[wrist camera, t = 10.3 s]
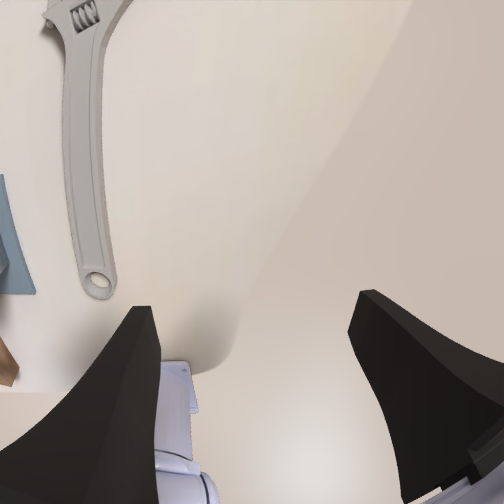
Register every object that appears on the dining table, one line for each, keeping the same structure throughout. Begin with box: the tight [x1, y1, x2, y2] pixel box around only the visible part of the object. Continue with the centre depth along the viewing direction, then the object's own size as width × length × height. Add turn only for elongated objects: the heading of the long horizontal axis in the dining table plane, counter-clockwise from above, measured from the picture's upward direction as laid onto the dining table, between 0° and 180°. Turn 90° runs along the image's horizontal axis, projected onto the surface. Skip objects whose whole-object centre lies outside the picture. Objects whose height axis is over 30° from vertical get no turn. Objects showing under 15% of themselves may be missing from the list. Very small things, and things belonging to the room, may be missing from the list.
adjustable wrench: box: [41, 0, 133, 299], centre depth 14 cm, size 25×6×2 cm, turn 170°
